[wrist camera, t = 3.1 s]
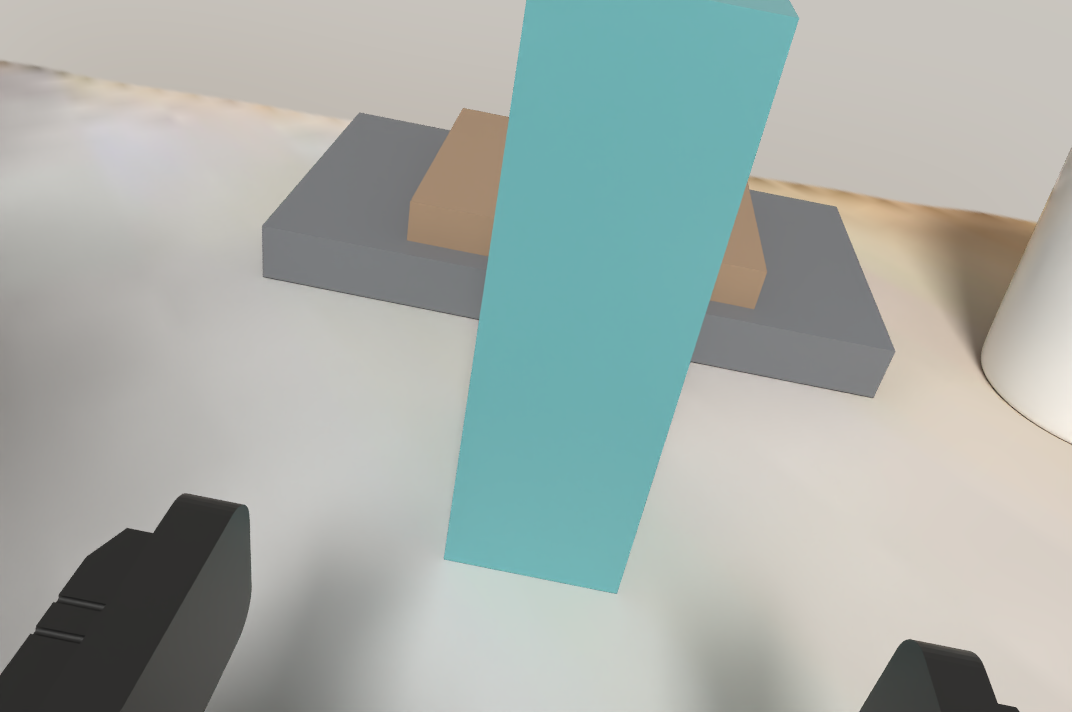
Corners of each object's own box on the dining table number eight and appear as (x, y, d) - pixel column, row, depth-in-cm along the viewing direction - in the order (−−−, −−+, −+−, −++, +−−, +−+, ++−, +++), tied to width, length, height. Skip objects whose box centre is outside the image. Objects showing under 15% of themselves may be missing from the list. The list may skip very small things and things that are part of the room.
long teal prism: (443, 559, 22) (531, -35, 14) (484, 406, 28) (565, -89, 20) (616, 593, 22) (798, 18, 14) (624, 434, 28) (760, -50, 20)
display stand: (263, 276, 32) (261, 185, 30) (357, 153, 41) (361, 79, 40) (873, 397, 31) (912, 314, 29) (821, 246, 41) (848, 176, 39)
